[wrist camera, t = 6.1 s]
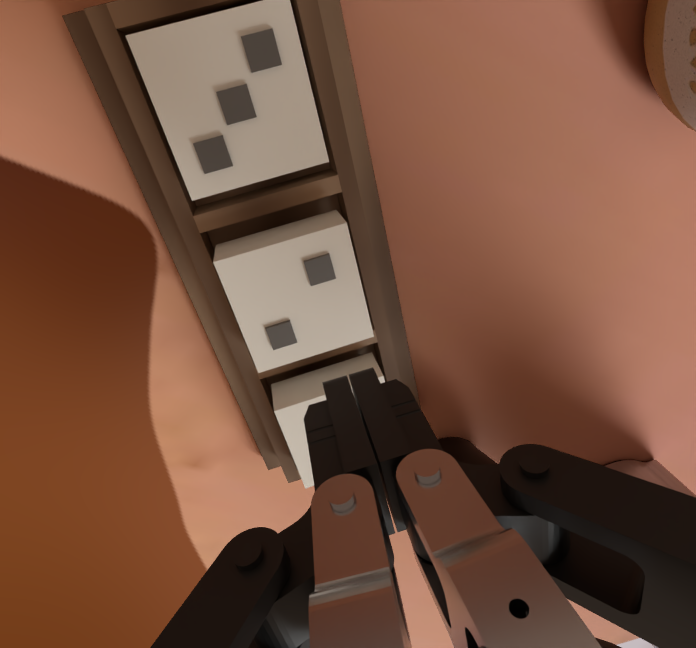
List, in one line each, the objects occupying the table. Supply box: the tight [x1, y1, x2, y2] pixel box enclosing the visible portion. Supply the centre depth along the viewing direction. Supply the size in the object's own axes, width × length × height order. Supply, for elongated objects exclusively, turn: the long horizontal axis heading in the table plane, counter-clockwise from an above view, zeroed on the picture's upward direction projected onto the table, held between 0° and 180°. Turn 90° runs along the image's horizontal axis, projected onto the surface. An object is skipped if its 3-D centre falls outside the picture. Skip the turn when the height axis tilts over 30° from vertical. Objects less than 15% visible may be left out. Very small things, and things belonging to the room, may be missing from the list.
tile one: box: [271, 352, 385, 489], centre depth 26 cm, size 6×6×3 cm
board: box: [62, 0, 421, 483], centre depth 24 cm, size 11×26×3 cm, turn 13°
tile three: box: [126, 0, 329, 201], centre depth 19 cm, size 6×6×3 cm
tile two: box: [213, 210, 374, 373], centre depth 22 cm, size 6×6×3 cm
